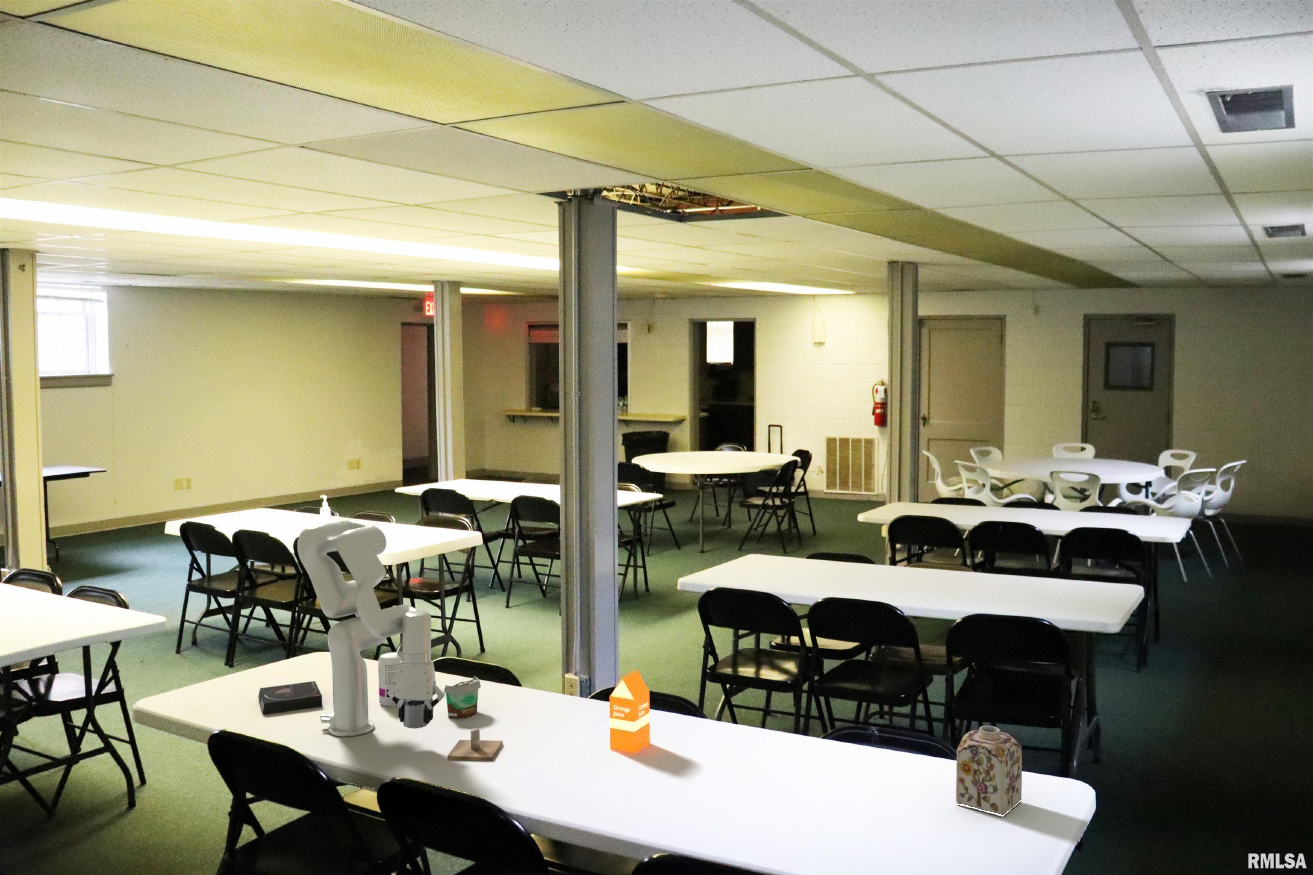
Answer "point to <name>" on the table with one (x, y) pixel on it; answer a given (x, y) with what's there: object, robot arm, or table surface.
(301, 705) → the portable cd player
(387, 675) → the supplement can
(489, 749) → the wooden peg base
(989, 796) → the decorative jar
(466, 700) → the food container
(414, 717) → the sleeve
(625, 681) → the orange juice
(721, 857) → the table surface
